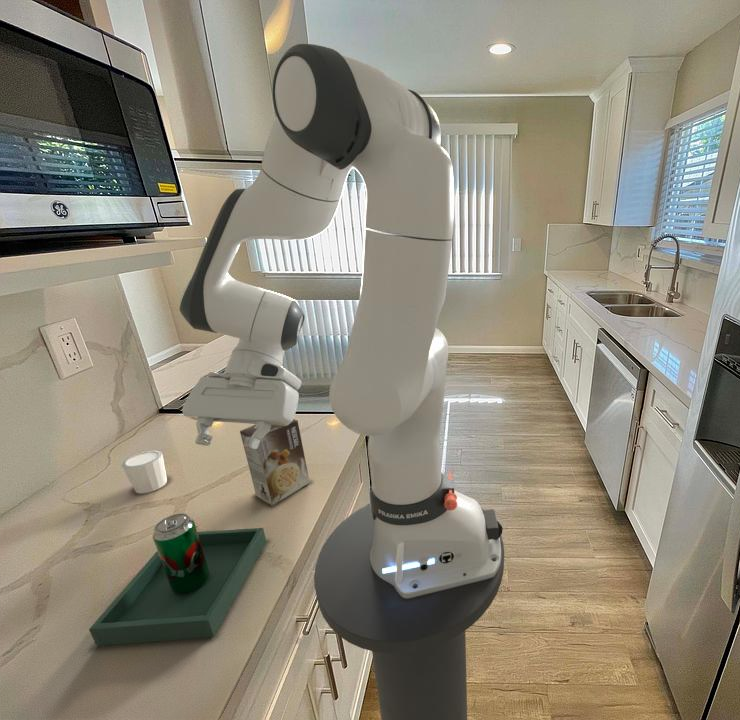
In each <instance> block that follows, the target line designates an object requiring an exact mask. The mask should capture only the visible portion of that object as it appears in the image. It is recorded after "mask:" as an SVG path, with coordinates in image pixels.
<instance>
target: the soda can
mask: <svg viewBox="0 0 740 720" xmlns="http://www.w3.org/2000/svg"><path fill="white" fill-rule="evenodd" d="M197 532H198V530H197V527H196V524H195V520H194V519H193V518H192V517H190V515H189V514H187V513H183V512H180V513H175V514H174V513H173V514H171V515H169V516H166V517H164V518H163V519H161V520H160V521H159V522H157V524H155V526H154V528H153V533H152V539H153V543H154V546H155V548H156V552H157V551H158V554H159V556H160V559H161V562H162V565H163V568H164V570H165V573H166V576H167V579H168V582H169V584H170V587H171V590H172V592H174V593H176V594H187V593H190V592H193V591H195V590H196V589H198V588H199V587H201V586H202V585H203V584H204V583H205V581H206V580H207V578H208V576H209V569H208V565H207V562H206V559H205V556H204V552H203V549H202V546H201V543H200V539H199V536H198V533H197Z"/></svg>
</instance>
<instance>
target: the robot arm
mask: <svg viewBox="0 0 740 720" xmlns="http://www.w3.org/2000/svg"><path fill="white" fill-rule="evenodd" d="M280 58H281V59H280V60H279V62H278V64H277V66H276V68H275V71H274V73H273V79H272V92H271V93H272V103H273V108H274V112H275V118H274V121H273V124H272V126H271V129H270V132H269V135H268V138H267V139H266V140H267V141H266V144H265V147H264V151H263V156H262V159H261V160H262V161H261V166H260V169H259V173H258V175H257V176H256V178H255V180H254V181H253V182H252V184H251V185H249V187H247V188H236V189H235V190H233V191H232V192H231V193H230V194H229V195H228V197H226V199H225V201H224V203H223V204H222V206H221V208H220V210H219V212H218V213H217V216H216V218H215V221H214V223H213V225H212V227H211V230H210V232H209V234H208V236H207V239H206V242H205V244H204V247H203V249H202V252H201V254H200V256H199V259H198V262H197V264H196V267H195V269H194V272H193V274H192V276H191V278H190V280H189V281H188V282H187V283H186V286H185V287H184V289H183V291H182V293H181V296H180V300H179V312H180V314H181V316H182V317H183V318H184V320H185V321H186V322H187V324H188V325H189V326H191V327H192V329H194V330H198V331H204V332H207V333H208V332H209V333H213V334H221V335H224V336H228V337H233V338H236V339H238V342H237V344H236V346H235V347H234V348H233V349H232V351H231V354H230V356H229V358H228V361H227V364H226V366H225V369H224V371H223V372H215V371H212V372H208V373H207V374H205V375H203V376H201V377H200V378H199V379H198V381H197V382H196V384H195V385H194V386H193V388H192V389H191V391H190V393H189V394H188V396H187V398H186V400H185V402H184V403H183V406H182V409H181V411H182V414H183V416H184V417H186V418H188V419H191V420H194V421H196V422H195V425H196V430H197V436H196V438H195V440H194V441H195V444H196V445H199V446H208V447H209V446H210V445H211V442H212V440H213V435H210V428H212V427H213V424H214V422H219V423H232V424H233V423H235V424H249V425H255V424H256V427H257V428H258V429H257V430H256V431H255V432H254V433H253V435H252V436H251V437H246V440H245V441H246V442H245V443H244V446H243V448H244V447H245V448H248V449H257V448H258V445H259V442H260V440H261V439H262V438H263V437H264V436H265V435H266V434H267V433H268V432H269V431H270V428H271V425H281V426H287V425H289V424H290V423H291V422H292V421H293V419H295V416H296V413H297V409H298V404H299V399H300V395H299V392H298V390H300V389H301V386H302V381H301V379H300V378H299V377H298V376H296V375H295V374H293V373H292V372H291V371H289V370H288V369H287V368H284V367H283V364H284V363H283V361H284V360H283V359H284V355H285V353H286V351H288V350H290V349H291V348H293V347H295V346H297V343H298V337H299V334H300V332H301V329H302V327H303V325H304V322H305V317H306V315H305V314H304V311H303V309H302V307H301V305H300V304H299V303H298V301H297V300H296V299H293V298H291V297H289V296H286V295H284V294H281V293H277V292H274V291H272V290H268V289H264V288H261V287H258V286H254V285H252V284H248V283H246V282H242V281H239V280H237V279H235V278H233V277H232V276H231V275H230V274H229V270H230V268H231V266H232V264H233V262H234V259H235V257H236V254H237V253H238V250H239V248H240V246H241V245H242V243H245V242H246V241H251V240H280V241H299V240H301V241H302V240H306V239H311V238H314V237H316V236H318V235H320V234H322V233H324V232H325V231H326V230H327V229H328V228H329V227H330V226H331V225H332V222H333V220H334V218H335V215H336V213H337V212H338V209H339V206H340V203H341V201H342V197H343V193H344V190H345V186H346V182H347V179H348V176H349V173H350V172H351V171H352V169H354V170H356V171H357V173H358V174H359V175H360V177H361V179H362V181H363V184H364V188H365V196H366V197H365V198H366V200H365V201H366V203H365V212H364V213H365V214H364V215H365V216H364V232H363V233H364V234H363V255H362V257H363V258H362V276H361V286H360V294H359V300H358V303H357V308H356V312H355V316H354V320H353V323H352V328H351V330H350V335H349V339H348V343H347V346H346V350H345V353H344V356H343V359H342V361H341V363H340V365H339V368H338V369H337V372H336V373H335V374H334V377H333V378H332V381H331V383H330V386H329V390H328V398H329V404H330V407H331V410H332V412H333V413H334V415H335V417H336V419H338V421H339V422H340V423H341V424H342V425H343V426H344V427H345V428H346V429H348V430H350V432H353V433H355V434H358V435H361V436H364V437H368V440H367V441H368V442H367V454H368V463H369V472H370V481H371V483H370V488H369V503H370V505H371V511H372V515H373V519H374V522H375V523H374V539H373V545H372V549H371V553H370V562H371V566H372V568H373V570H374V571H375V573H376V574H377V575H378V576H379V577H380V578H381V579H383V580H385V581H387V582H388V583H390V584H392V585H393V586H394V587H395V589H396V590H397V592H398V593H399V595H400V596H401V597H403V598H407V599H408V598H413V597H417V596H421V595H425V594H429V593H433V592H437V591H441V590H445V589H449V588H453V587H457V586H461V585H465V584H469V583H473V582H477V581H482V580H486V579H489V578H492V577H494V576H495V575H496V573H497V571H498V569H499V567H500V563H501V544H500V536H502V534H503V532H504V531H503V530H504V529H503V525H502V524H501V523H500V521H498V520H497V515H496V512H495V511H496V510H495V509H493V508H492V509H483V508H482V507H481V505H480V503H479V502H478V501H477V500H476V499H474V498H472V497H470V496H468V495H465V494H463V493H461V492H459V491H457V490H455V483H454V481H453V475H452V473H451V471H450V470H449V471H448V476H446V475H445V474H444V473H442V462H441V459H442V458H441V431H442V430H441V428H442V419H443V413H444V412H443V411H444V402H445V391H446V376H447V365H448V361H449V355H450V347H449V343H448V340H447V339H446V337H445V335H444V333H443V332H442V331H441V330H440V329H439V328H437V325H438V322H439V318H440V314H441V311H442V309H443V306H444V304H445V301H446V298H447V297H446V296H447V286H448V280H449V269H450V262H451V253H452V245H453V236H454V235H453V234H454V224H455V223H454V222H455V178H454V177H455V176H454V167H453V162H452V159H451V157H450V155H449V152H447V150H446V149H445V148H444V147H443V146H441V141H442V132H441V131H442V130H441V125H440V120H439V118H438V116H437V113H436V111H434V109H433V107H432V106H431V104H429V103H428V102H427V100H425V99H424V97H422V96H421V95H420V94H419V93H418V92H416V91H414V90H411V89H408V88H406V87H405V86H403V85H401V83H399V82H397V81H396V80H394V79H393V78H391V77H389V76H387V74H385V73H384V72H382V71H381V70H380V69H378V68H375V67H373V66H371V65H369V64H366V63H364V62H362V61H359V60H357V59H354V58H352V57H351V58H350V57H348V56H346V55H345V56H344V55H342V54H341V53H340V52H338V51H337V50H336V49H333V48H331V47H327V46H323V45H319V44H314V43H313V44H312V43H298V44H295V45H293V46H291V47H290V48H288V49H287V50H286V51H285V52H284V54H283V55H282V57H280ZM481 508H482V509H483V511H482V509H481ZM414 587H417V588H414Z"/></svg>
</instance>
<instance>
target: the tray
mask: <svg viewBox="0 0 740 720" xmlns="http://www.w3.org/2000/svg"><path fill="white" fill-rule="evenodd" d="M197 533H198V536H199V539H200V543H201V546H202V549H203V552H204V556H205V559H206V562H207V565H208V569H209V576H208V578H207V580H206V581H205V583H204V584H203V585H202V586H201V587H199V588H198V589H196V590H195V591H193V592H190V593H187V594H176V593H174V592H172V590H171V587H170V584H169V582H168V579H167V576H166V573H165V570H164V568H163V565H162V562H161V559H160V556H159V554H158V551H157V550H156V552H154V554H153V555H152V556H151V557H150V559H149V560H148V561H147V562H146V563H145V564H144V566H143V567H142V568H141V569H140V570H139V571H138V573H136V575H135V576H133V578H132V579H131V580H130V582H128V583H127V585H126V586H125V587H124V588H123V589H122V591H121V592H120V593H119V594H118V595H117V596H116V598H115V599H113V601H112V602H111V603H110V604H109V606H108V607H107V608H106V609H105V610H104V611H103V613H102V614H101V615H100V616H99V617H98V618H97V619H96V621H94V623H92V625H91V626H90V627H89V629H88V631H89V633H90V635H91V637H92V639H93V641H94V643H95V645H96V647H103V646H117V645H129V644H141V643H142V644H143V643H154V642H167V641H179V640H180V641H181V640H193V639H204V638H205V639H206V638H215V635H216V633H217V632H218V630H219V628H220V626H221V625H222V623H223V621H224V620H225V618H226V616H227V614H228V612H229V611H230V608H231V607H232V605H233V603H234V601H235V600H236V598H237V596H238V594H239V592H240V591H241V588H242V587H243V585H244V583H245V582H246V580H247V578H248V576H249V575H250V573H251V570H252V569H253V567H254V565H255V564H256V561H257V560H258V558H259V556H260V554H261V553H262V551H263V549H264V547H266V546H265V545H266V544H267V538H266V533H265V528H264V527H255V528H254V527H253V528H238V529H236V528H235V529H220V530H204V531H197Z"/></svg>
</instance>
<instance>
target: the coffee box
mask: <svg viewBox="0 0 740 720" xmlns="http://www.w3.org/2000/svg"><path fill="white" fill-rule="evenodd" d="M257 429H258V428H257V427H256V424H252V425H251V426H248V427H246V428H243V429H241V430H240V431H239V434H240V437H241V442H242V445H243V449H244V453H245V459H246V461H247V465H248V469H249V470H248V471H249V474H250V477H251V482H252V484H253V489H254V494H255V496H256V497H258V498H259V499H260V500H262V501H264V502H265V503H267V504H268V505H271V506H274V505H276V504H278V503H279V502H281V501H282V500H284V499H285V498H287V497H289V496H290V495H292V494H294V493H295V492H297V491H299V490H300V489H302V488H304V487H306V486H307V485H308V484H310V483H311V482H310V477H309V471H308V467H307V462H306V461H307V460H306V456H305V451H304V446H303V441H302V436H301V430H300V426H299V421H298V420H297V419H296V418H294V419H293V421H292V422H291V423H290V424H289V425H287V426H281V425H271V428H270V431H269V432H268V433H267V434H266V435H265V436H264V437H263V438H262V439H261V440H260V442H259V445H258V448H257V449H248V448H245V447H244V443H245V442H246V441H245V440H246V437H251V436H252V435H253V433H254V432H255V431H256V430H257Z"/></svg>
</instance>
